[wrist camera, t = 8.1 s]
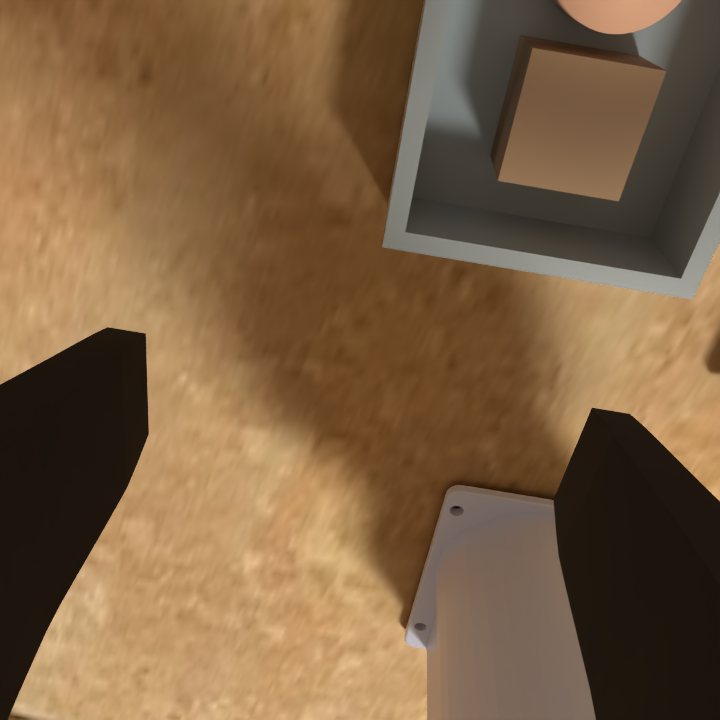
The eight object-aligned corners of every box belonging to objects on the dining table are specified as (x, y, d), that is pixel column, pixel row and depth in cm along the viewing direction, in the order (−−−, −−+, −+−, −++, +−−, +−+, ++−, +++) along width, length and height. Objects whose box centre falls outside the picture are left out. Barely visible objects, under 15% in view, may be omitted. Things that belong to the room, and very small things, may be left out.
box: (655, 249, 20) (692, 299, 17) (387, 204, 20) (382, 247, 17) (833, -179, 14) (926, -203, 12) (466, -244, 14) (476, -285, 12)
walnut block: (599, 174, 18) (618, 201, 16) (490, 155, 18) (497, 180, 16) (639, 55, 17) (666, 70, 15) (520, 35, 17) (532, 48, 15)
